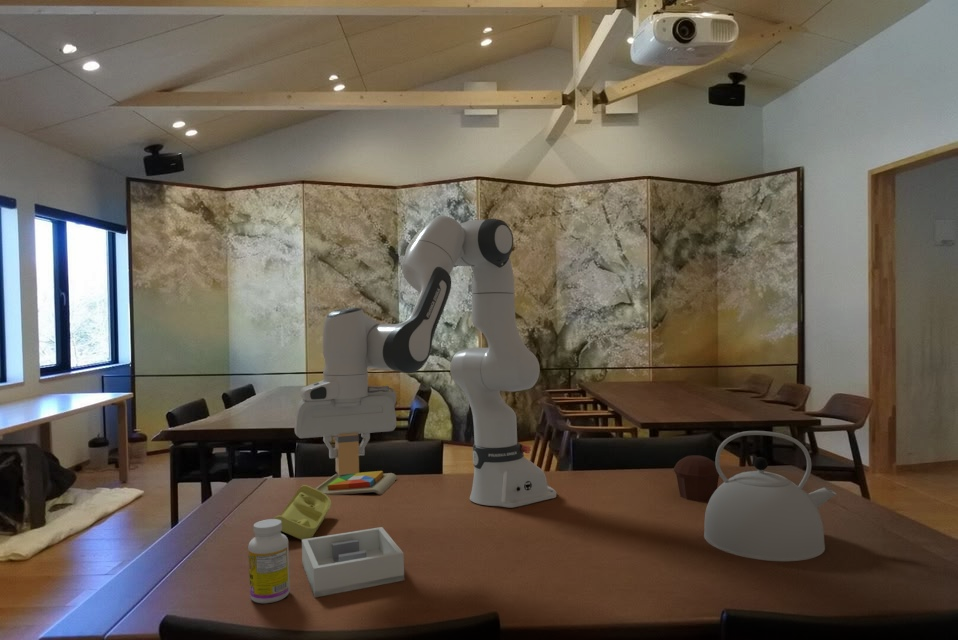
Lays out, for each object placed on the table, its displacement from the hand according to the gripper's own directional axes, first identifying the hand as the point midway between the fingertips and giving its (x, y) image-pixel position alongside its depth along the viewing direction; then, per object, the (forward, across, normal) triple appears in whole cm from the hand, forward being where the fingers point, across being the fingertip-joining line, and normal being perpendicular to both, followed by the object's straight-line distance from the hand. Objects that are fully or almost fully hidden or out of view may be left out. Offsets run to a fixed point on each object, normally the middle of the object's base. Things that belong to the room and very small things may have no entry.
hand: (346, 456), depth 132 cm
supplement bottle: (+20, +16, +13) cm, 29 cm away
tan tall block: (+3, 0, 0) cm, 3 cm away
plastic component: (+20, +7, -22) cm, 31 cm away
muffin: (+19, -89, -1) cm, 91 cm away
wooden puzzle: (+20, -12, -52) cm, 57 cm away
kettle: (+19, -80, +30) cm, 88 cm away
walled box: (+20, +1, +9) cm, 22 cm away
